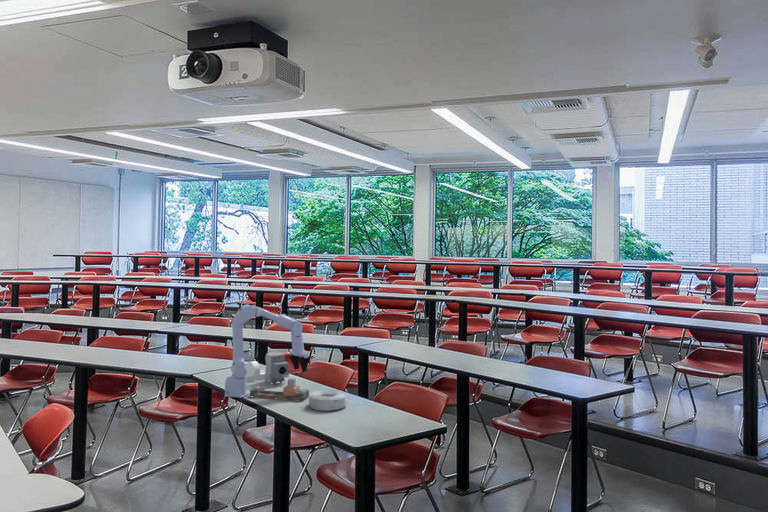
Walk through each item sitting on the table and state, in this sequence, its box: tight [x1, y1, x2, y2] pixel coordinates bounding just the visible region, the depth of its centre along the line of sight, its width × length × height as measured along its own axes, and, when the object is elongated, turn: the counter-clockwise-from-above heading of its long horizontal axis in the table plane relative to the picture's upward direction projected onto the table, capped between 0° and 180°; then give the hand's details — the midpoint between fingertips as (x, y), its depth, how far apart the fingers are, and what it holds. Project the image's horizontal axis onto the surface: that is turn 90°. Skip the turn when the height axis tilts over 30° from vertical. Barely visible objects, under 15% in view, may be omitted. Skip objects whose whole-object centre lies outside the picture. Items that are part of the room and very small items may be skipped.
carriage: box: [282, 377, 301, 396], centre depth 263 cm, size 6×6×7 cm
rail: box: [249, 385, 310, 402], centre depth 264 cm, size 27×8×4 cm, turn 79°
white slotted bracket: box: [245, 360, 266, 383], centre depth 300 cm, size 10×18×10 cm, turn 134°
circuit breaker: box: [264, 352, 290, 384], centre depth 293 cm, size 8×14×15 cm, turn 39°
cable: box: [308, 388, 348, 412], centre depth 251 cm, size 18×18×6 cm
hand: (300, 370), depth 277 cm, fingers open, 7 cm apart
